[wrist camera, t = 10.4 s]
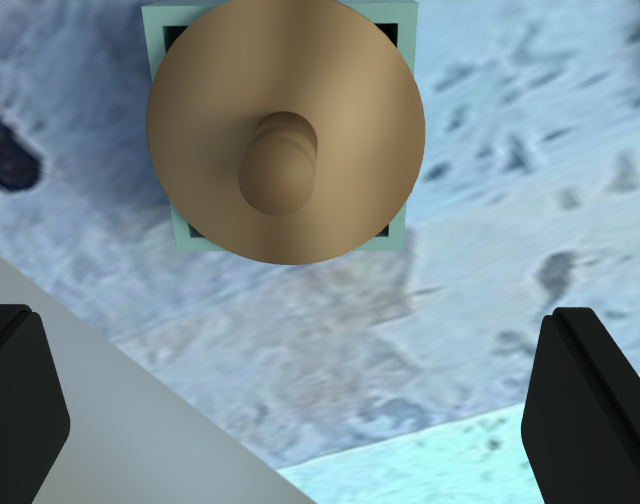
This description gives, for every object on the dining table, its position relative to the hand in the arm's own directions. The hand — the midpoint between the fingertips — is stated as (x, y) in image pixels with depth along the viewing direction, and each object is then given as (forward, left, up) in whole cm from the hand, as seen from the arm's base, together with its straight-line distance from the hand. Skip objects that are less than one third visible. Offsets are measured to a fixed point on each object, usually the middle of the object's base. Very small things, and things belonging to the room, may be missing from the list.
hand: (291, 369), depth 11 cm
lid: (+1, +1, -18) cm, 19 cm away
